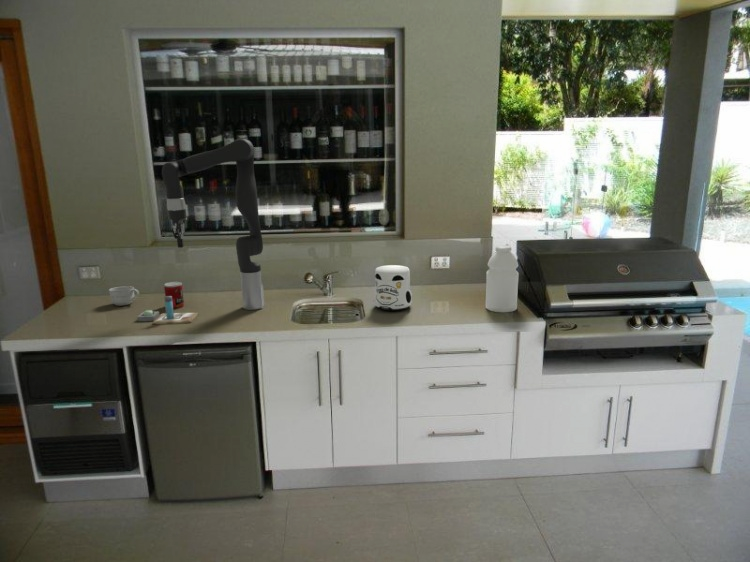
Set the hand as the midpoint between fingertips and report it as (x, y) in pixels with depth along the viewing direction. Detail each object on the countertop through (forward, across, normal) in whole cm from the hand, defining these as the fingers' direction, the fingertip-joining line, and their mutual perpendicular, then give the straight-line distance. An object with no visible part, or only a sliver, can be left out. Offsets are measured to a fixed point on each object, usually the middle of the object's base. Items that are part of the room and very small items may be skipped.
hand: (180, 247), depth 249 cm
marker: (+28, +16, -3) cm, 32 cm away
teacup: (+29, -11, -32) cm, 45 cm away
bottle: (+29, +13, +142) cm, 146 cm away
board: (+29, +14, -1) cm, 32 cm away
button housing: (+29, +12, -14) cm, 34 cm away
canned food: (+29, -5, -7) cm, 30 cm away
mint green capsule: (+30, +12, -14) cm, 35 cm away
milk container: (+29, +7, +94) cm, 99 cm away
